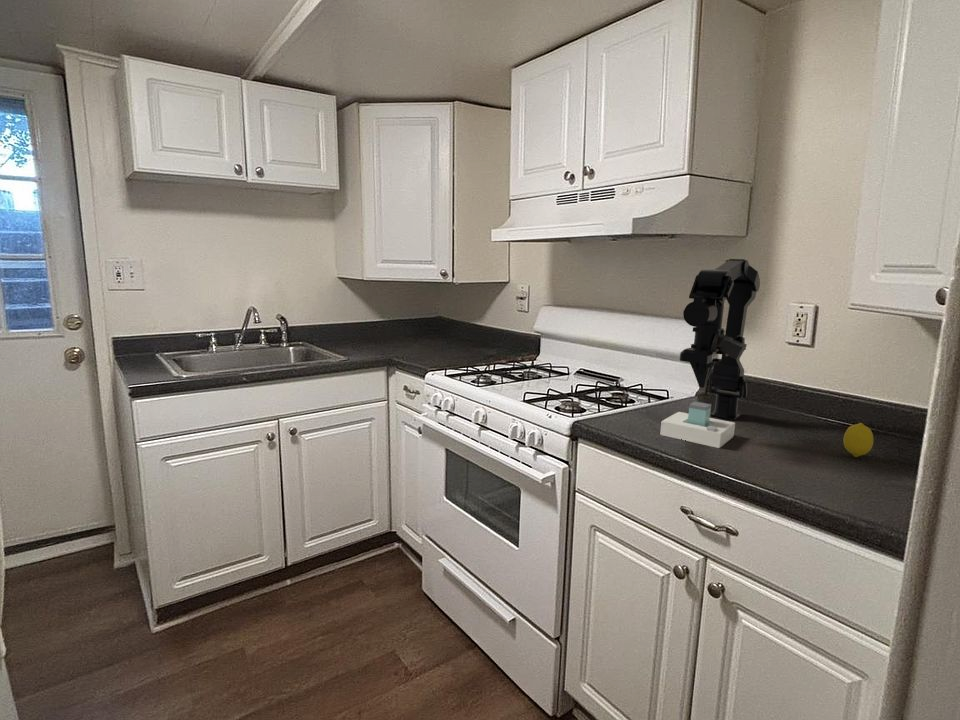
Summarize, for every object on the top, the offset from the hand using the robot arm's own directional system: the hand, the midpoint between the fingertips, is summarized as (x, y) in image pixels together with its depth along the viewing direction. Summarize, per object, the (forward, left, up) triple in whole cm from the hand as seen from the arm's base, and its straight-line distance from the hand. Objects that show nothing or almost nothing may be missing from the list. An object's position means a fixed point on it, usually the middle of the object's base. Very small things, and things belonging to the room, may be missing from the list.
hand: (702, 387), depth 135 cm
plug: (0, 0, -12) cm, 12 cm away
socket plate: (0, 0, -12) cm, 12 cm away
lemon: (-10, +32, -13) cm, 36 cm away
